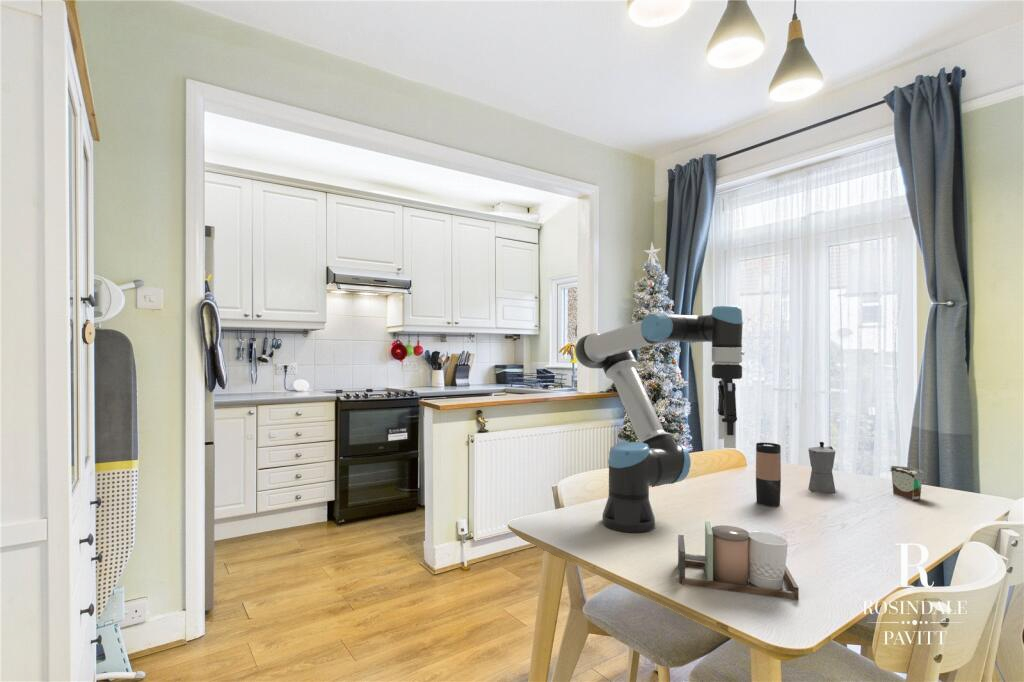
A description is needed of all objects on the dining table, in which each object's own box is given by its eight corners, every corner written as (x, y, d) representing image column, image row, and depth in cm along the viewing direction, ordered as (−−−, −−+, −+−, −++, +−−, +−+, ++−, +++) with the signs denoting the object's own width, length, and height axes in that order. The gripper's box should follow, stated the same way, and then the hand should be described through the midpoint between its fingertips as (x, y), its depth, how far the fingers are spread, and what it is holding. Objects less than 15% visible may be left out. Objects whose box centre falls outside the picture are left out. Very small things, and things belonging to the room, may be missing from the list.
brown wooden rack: (679, 584, 113) (679, 551, 113) (678, 563, 124) (678, 534, 124) (798, 599, 106) (798, 565, 106) (785, 576, 117) (785, 545, 118)
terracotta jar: (712, 584, 113) (712, 535, 113) (710, 570, 120) (710, 523, 120) (751, 590, 110) (751, 539, 111) (747, 575, 118) (746, 527, 118)
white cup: (790, 594, 109) (793, 546, 109) (750, 588, 110) (753, 541, 110) (779, 578, 116) (781, 534, 117) (741, 573, 118) (744, 529, 118)
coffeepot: (827, 495, 186) (827, 445, 186) (800, 489, 193) (800, 441, 194) (846, 489, 195) (845, 441, 195) (819, 483, 202) (819, 437, 203)
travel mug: (781, 502, 176) (781, 443, 177) (779, 508, 170) (779, 447, 170) (757, 498, 180) (757, 441, 181) (754, 504, 174) (754, 444, 174)
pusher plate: (679, 580, 114) (679, 531, 114) (678, 564, 123) (678, 518, 123) (712, 584, 112) (713, 534, 112) (709, 568, 121) (709, 521, 121)
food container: (933, 502, 178) (933, 473, 178) (915, 502, 178) (915, 473, 178) (907, 493, 190) (907, 465, 191) (890, 492, 191) (890, 465, 191)
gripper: (749, 365, 125) (749, 452, 124) (735, 363, 149) (735, 436, 148) (716, 364, 127) (716, 450, 127) (708, 362, 151) (707, 435, 151)
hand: (726, 443), depth 137 cm, fingers open, 13 cm apart
